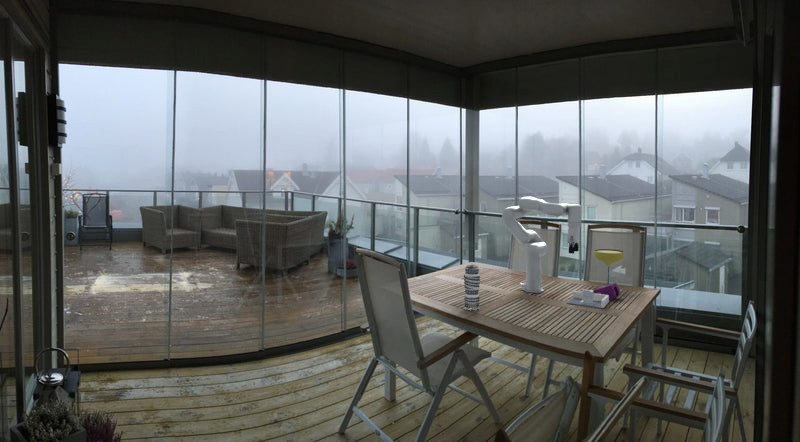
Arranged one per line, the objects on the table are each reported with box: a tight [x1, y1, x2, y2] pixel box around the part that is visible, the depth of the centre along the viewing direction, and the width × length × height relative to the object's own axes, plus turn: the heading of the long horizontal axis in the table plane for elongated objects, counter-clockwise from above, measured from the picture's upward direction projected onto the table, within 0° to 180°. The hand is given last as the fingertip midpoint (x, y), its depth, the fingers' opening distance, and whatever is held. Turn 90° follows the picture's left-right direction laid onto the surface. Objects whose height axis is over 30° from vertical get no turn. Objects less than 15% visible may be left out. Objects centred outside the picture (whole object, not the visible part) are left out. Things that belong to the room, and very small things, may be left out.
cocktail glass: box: [593, 248, 625, 288], centre depth 307 cm, size 18×18×25 cm
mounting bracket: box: [591, 282, 621, 302], centre depth 284 cm, size 10×8×18 cm
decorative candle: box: [463, 264, 481, 309], centre depth 262 cm, size 9×9×25 cm
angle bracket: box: [580, 289, 594, 305], centre depth 270 cm, size 6×6×7 cm
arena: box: [566, 290, 610, 310], centre depth 271 cm, size 20×15×5 cm
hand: (573, 252), depth 283 cm, fingers open, 9 cm apart
